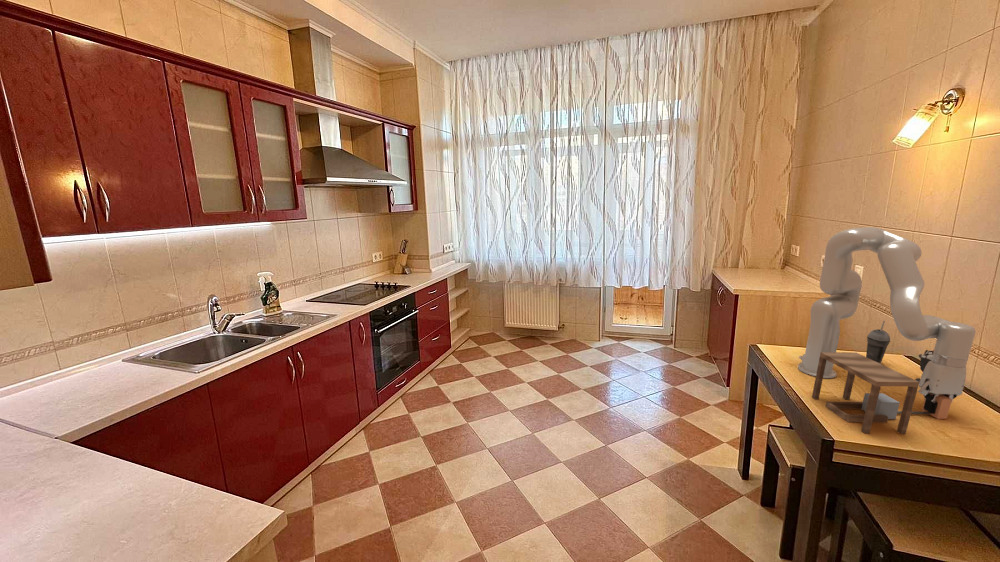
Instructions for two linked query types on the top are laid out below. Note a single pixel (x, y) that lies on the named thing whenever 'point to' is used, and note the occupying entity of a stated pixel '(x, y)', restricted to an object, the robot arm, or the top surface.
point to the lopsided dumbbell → (891, 410)
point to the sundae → (925, 360)
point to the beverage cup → (877, 344)
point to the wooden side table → (878, 378)
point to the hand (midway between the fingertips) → (934, 410)
